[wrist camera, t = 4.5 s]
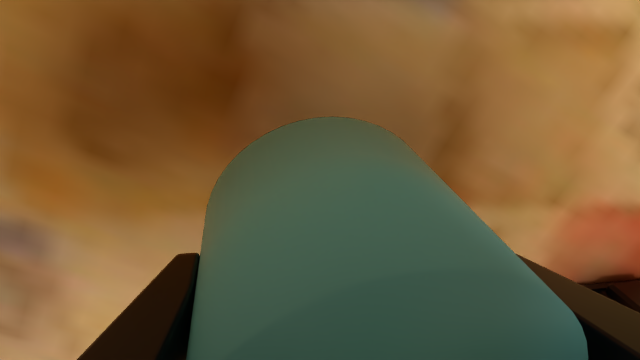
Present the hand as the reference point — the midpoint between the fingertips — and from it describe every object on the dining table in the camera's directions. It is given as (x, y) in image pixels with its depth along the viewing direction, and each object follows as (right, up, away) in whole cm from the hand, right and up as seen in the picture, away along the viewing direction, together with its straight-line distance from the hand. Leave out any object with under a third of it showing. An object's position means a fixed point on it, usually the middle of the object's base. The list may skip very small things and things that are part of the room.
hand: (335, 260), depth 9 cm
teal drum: (0, +1, +1) cm, 1 cm away
